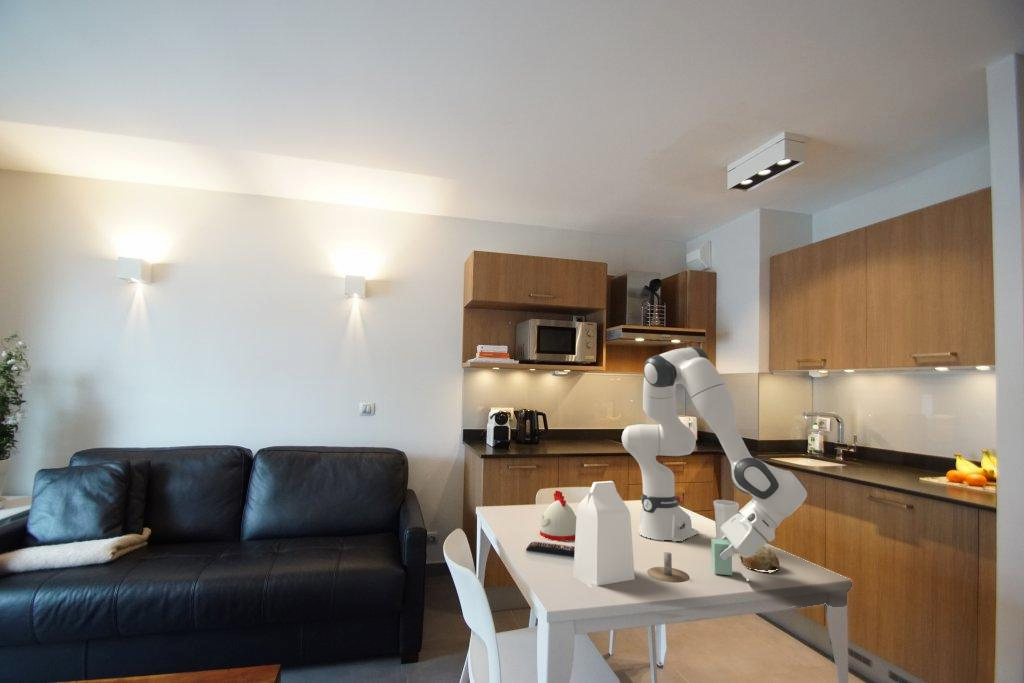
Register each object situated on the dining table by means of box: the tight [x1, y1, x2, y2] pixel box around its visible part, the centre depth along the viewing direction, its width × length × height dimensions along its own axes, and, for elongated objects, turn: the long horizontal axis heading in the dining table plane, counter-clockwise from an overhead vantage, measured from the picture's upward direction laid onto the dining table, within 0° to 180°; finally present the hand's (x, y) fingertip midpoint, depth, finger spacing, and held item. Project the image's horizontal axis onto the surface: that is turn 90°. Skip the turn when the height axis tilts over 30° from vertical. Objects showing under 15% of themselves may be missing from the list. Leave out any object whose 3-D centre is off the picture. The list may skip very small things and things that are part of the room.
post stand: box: [646, 551, 690, 584], centre depth 132 cm, size 11×11×7 cm
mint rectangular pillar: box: [710, 538, 733, 576], centre depth 134 cm, size 4×4×8 cm
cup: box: [712, 499, 740, 539], centre depth 162 cm, size 8×8×14 cm
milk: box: [573, 480, 636, 589], centre depth 132 cm, size 12×12×26 cm
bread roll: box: [738, 546, 781, 571], centre depth 143 cm, size 10×10×8 cm
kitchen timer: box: [539, 490, 577, 542], centre depth 172 cm, size 14×14×15 cm
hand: (719, 553), depth 134 cm, fingers closed on mint rectangular pillar, 4 cm apart
